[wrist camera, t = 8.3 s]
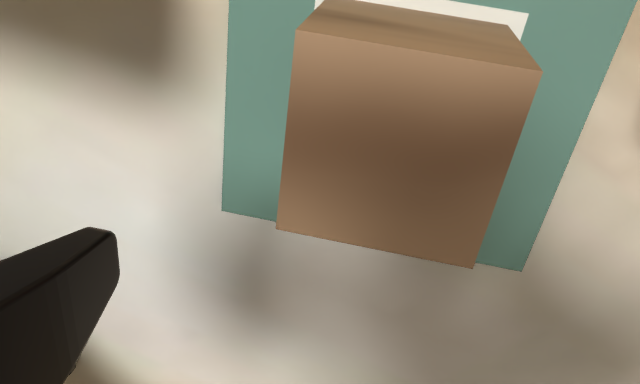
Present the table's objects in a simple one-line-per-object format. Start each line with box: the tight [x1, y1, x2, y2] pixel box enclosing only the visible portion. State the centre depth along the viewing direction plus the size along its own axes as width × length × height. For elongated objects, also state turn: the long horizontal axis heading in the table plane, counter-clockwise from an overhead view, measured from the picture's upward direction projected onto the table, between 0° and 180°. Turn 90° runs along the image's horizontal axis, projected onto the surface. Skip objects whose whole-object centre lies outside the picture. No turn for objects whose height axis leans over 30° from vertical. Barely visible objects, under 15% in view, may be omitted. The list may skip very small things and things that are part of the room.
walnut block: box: [276, 0, 543, 269], centre depth 15 cm, size 6×6×5 cm
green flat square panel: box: [222, 0, 637, 272], centre depth 17 cm, size 12×12×1 cm
